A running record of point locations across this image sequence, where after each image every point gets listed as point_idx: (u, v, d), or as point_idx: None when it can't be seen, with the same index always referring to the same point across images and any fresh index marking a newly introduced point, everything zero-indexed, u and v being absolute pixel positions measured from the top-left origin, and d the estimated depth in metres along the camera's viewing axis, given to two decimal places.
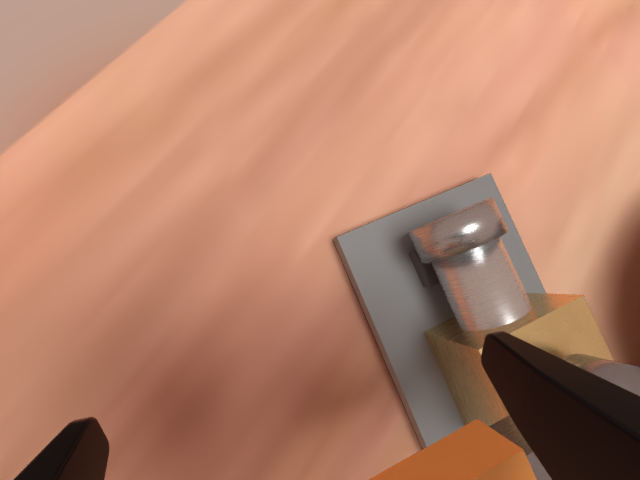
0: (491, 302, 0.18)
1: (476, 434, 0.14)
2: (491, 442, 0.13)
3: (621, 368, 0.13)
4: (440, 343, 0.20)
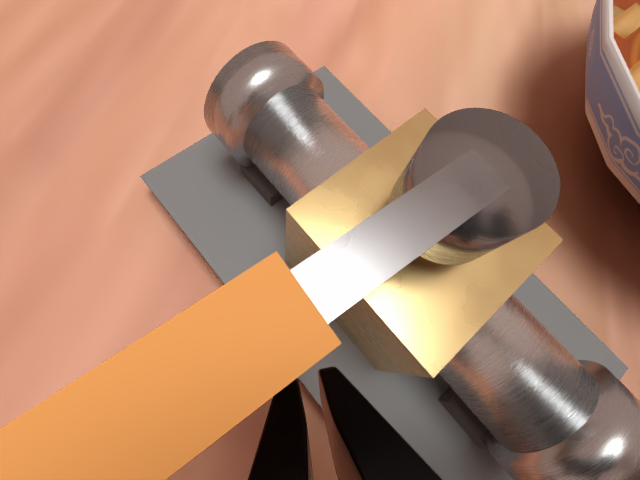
0: (312, 160, 0.13)
1: None
2: None
3: (450, 113, 0.08)
4: (292, 257, 0.14)
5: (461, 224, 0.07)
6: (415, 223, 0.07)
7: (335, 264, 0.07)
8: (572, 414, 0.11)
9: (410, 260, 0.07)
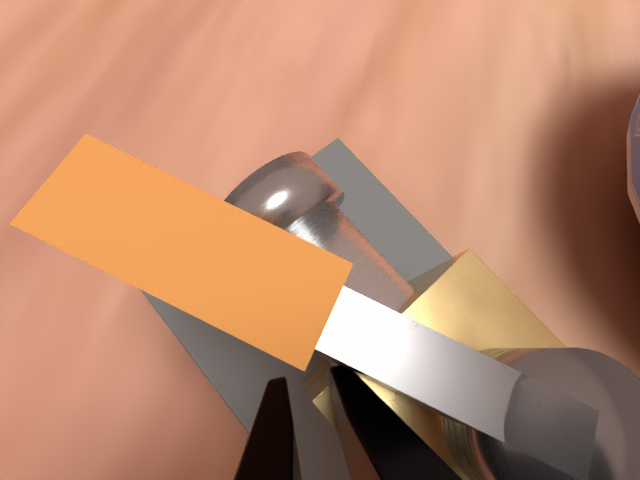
0: None
1: None
2: None
3: (618, 363, 0.06)
4: None
5: (501, 441, 0.06)
6: (467, 386, 0.06)
7: (374, 324, 0.06)
8: None
9: (425, 401, 0.06)
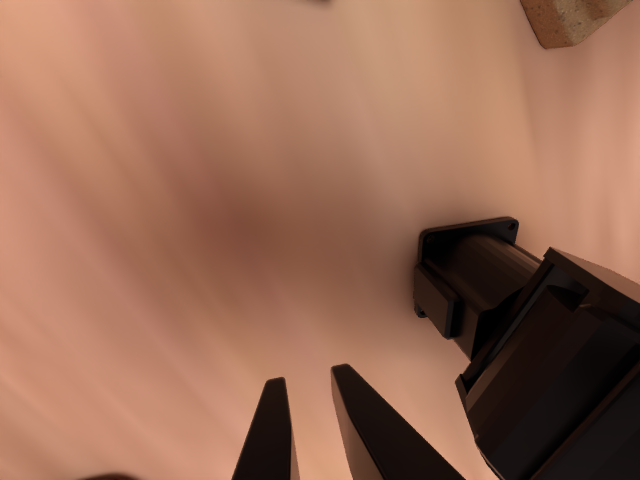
0: None
1: None
2: None
3: None
4: None
5: None
6: None
7: None
8: None
9: None
